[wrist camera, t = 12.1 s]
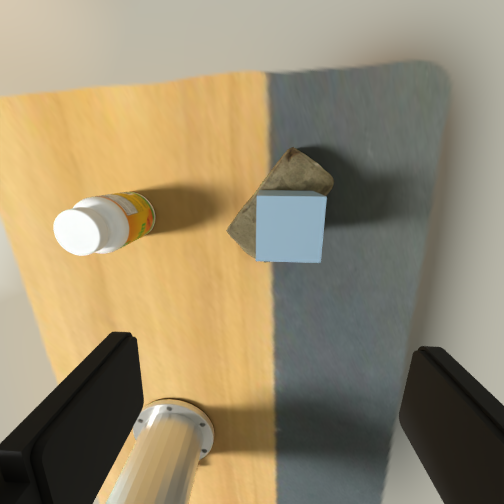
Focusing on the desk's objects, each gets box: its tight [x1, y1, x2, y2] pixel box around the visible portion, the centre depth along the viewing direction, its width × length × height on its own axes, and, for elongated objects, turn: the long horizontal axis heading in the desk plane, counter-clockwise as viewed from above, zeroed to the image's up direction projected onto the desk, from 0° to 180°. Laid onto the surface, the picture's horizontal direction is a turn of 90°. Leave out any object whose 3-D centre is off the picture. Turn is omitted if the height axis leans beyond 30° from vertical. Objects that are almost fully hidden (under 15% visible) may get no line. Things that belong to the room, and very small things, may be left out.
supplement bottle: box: [54, 192, 155, 256], centre depth 26 cm, size 5×5×10 cm
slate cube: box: [256, 190, 327, 263], centre depth 22 cm, size 5×5×6 cm
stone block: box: [227, 147, 334, 262], centre depth 27 cm, size 6×12×5 cm, turn 143°
